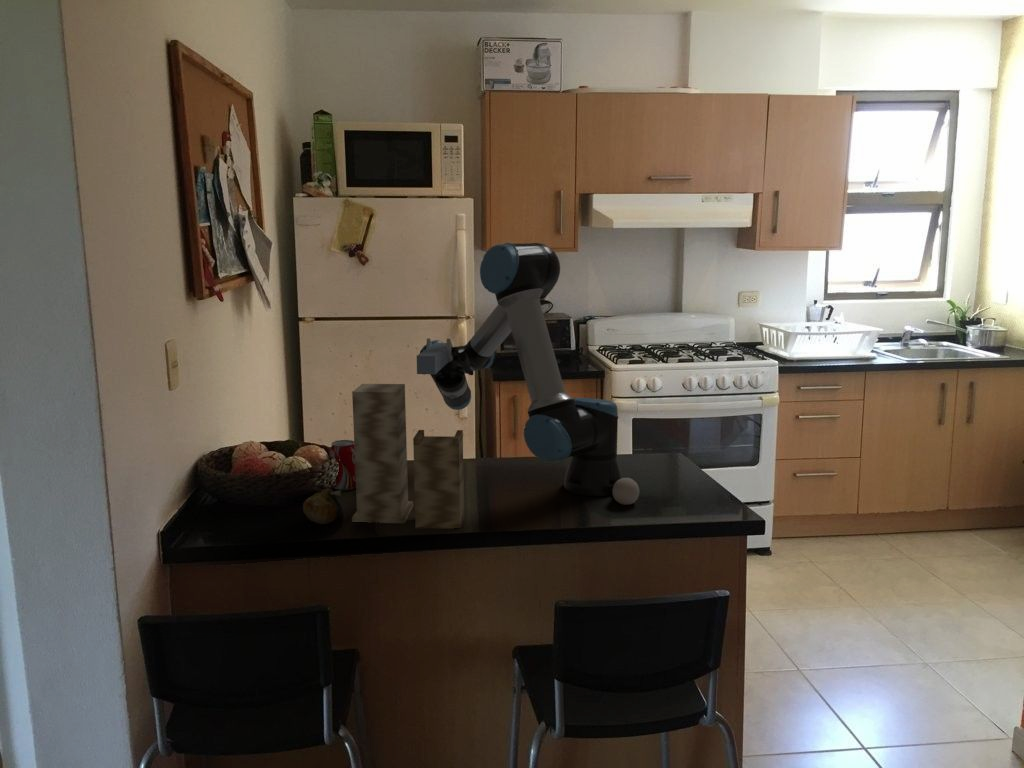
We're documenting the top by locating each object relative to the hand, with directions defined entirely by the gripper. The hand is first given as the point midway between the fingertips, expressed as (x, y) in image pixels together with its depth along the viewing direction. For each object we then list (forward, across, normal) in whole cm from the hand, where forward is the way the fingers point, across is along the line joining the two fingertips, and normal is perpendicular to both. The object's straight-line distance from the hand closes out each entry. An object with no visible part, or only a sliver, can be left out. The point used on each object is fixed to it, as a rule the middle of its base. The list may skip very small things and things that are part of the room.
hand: (438, 343), depth 195 cm
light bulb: (-24, -44, -31) cm, 59 cm away
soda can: (-29, +27, -28) cm, 49 cm away
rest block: (-9, -2, -40) cm, 41 cm away
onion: (-7, +25, -42) cm, 49 cm away
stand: (-13, +12, -38) cm, 42 cm away
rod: (+1, 0, -6) cm, 6 cm away
